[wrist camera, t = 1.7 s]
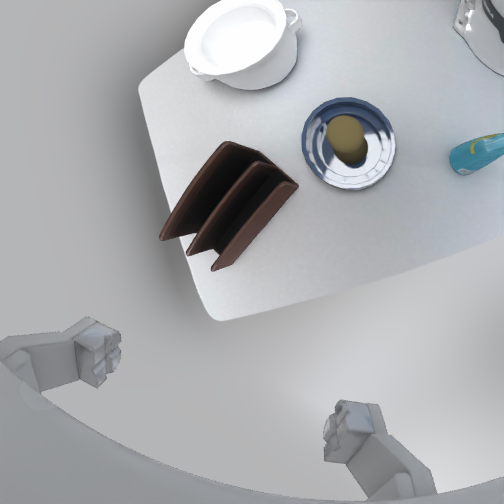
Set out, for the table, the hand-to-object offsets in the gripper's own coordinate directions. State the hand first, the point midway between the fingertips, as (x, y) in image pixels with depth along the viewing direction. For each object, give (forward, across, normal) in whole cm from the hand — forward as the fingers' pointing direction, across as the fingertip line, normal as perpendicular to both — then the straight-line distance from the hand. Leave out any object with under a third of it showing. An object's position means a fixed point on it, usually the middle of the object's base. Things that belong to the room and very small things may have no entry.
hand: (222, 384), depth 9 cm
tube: (+35, -26, -20) cm, 48 cm away
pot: (+45, +12, -30) cm, 55 cm away
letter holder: (+44, +7, -1) cm, 45 cm away
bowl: (+40, -8, -16) cm, 44 cm away
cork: (+40, -8, -16) cm, 43 cm away
